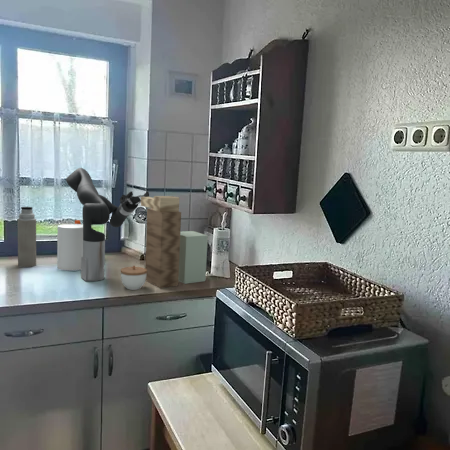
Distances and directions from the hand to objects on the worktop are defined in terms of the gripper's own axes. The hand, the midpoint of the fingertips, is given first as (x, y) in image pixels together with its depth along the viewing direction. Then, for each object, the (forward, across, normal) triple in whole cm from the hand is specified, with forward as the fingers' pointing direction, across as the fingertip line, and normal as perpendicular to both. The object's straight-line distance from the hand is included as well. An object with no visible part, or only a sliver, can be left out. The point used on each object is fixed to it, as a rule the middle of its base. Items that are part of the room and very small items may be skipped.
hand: (140, 193), depth 222 cm
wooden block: (+22, -4, +17) cm, 28 cm away
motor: (-38, -23, +20) cm, 49 cm away
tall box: (+12, -4, +49) cm, 50 cm away
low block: (+11, +10, +48) cm, 50 cm away
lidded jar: (+14, -18, +50) cm, 55 cm away
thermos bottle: (-34, -49, +23) cm, 64 cm away
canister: (-25, -31, +28) cm, 48 cm away
